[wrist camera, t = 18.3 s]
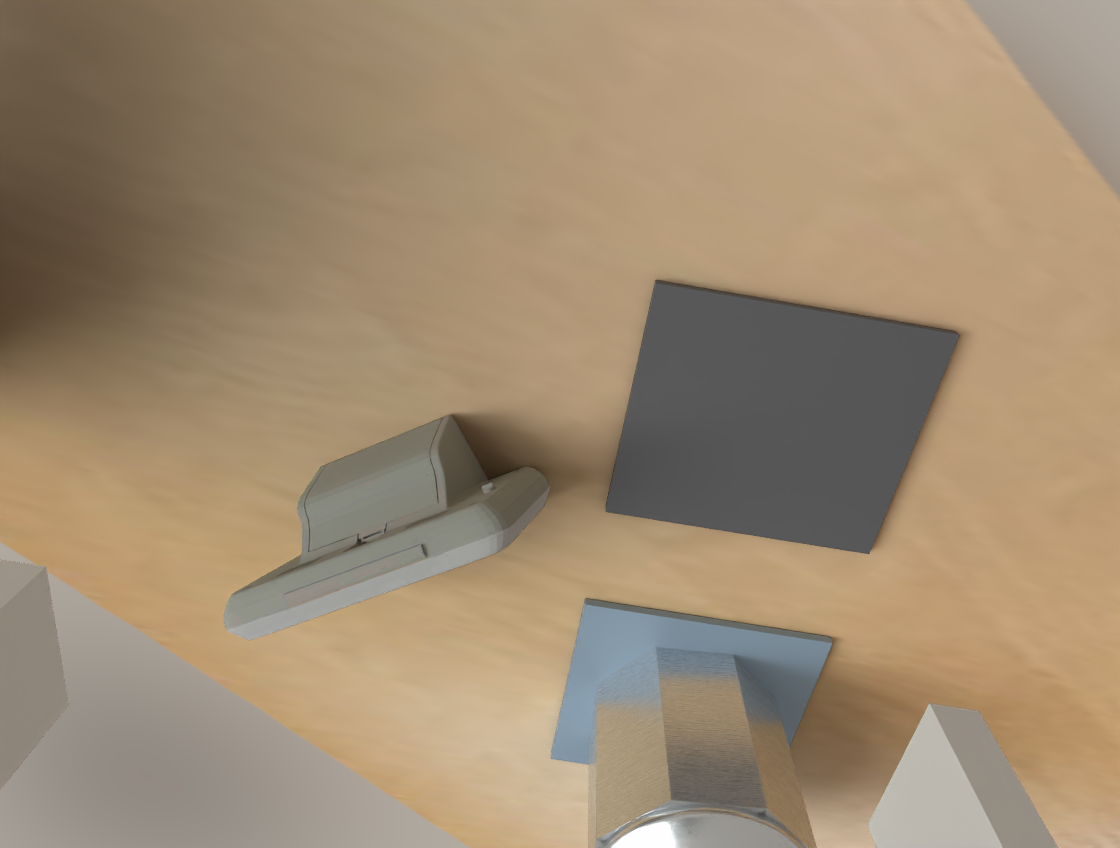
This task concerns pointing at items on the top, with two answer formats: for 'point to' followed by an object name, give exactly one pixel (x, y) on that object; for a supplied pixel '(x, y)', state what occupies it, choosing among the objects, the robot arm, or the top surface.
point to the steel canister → (691, 758)
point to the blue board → (633, 631)
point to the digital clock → (389, 526)
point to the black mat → (773, 416)
